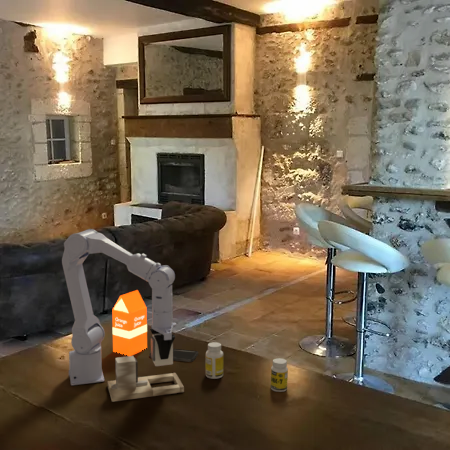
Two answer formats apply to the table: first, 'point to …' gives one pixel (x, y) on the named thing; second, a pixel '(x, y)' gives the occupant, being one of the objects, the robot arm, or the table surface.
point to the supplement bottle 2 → (279, 375)
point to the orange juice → (129, 324)
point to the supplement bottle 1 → (214, 361)
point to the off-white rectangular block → (155, 353)
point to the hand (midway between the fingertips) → (162, 355)
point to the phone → (183, 355)
